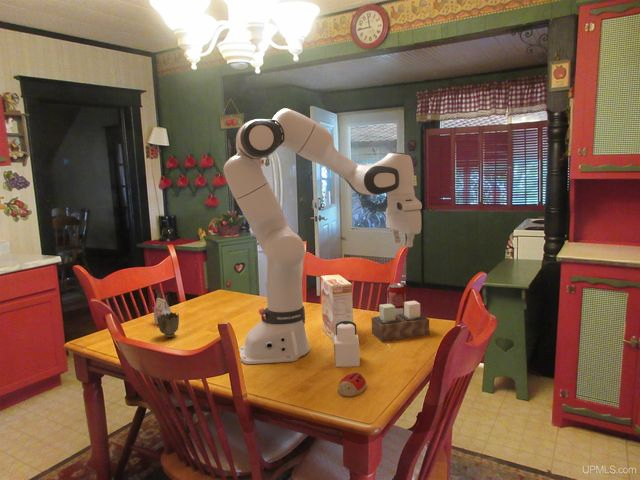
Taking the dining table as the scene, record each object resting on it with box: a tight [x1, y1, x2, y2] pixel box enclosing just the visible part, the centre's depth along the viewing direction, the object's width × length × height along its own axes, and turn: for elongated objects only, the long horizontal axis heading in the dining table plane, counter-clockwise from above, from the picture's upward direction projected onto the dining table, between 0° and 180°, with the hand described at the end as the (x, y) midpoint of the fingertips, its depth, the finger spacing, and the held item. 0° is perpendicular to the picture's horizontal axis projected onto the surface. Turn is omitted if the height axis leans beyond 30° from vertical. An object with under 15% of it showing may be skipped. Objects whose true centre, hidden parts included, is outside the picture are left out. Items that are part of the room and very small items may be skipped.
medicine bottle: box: [333, 321, 361, 368], centre depth 141 cm, size 7×7×12 cm
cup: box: [157, 311, 180, 339], centre depth 169 cm, size 8×7×8 cm
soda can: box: [386, 282, 407, 315], centre depth 182 cm, size 7×7×12 cm
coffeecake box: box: [320, 274, 354, 343], centre depth 163 cm, size 15×7×20 cm, turn 14°
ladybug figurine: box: [337, 372, 367, 398], centre depth 124 cm, size 7×10×4 cm
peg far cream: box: [404, 300, 421, 318], centre depth 163 cm, size 4×4×6 cm
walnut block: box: [371, 313, 430, 343], centre depth 162 cm, size 17×9×6 cm, turn 105°
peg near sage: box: [378, 303, 395, 321], centre depth 160 cm, size 4×4×6 cm
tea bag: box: [153, 297, 172, 325], centre depth 183 cm, size 4×7×10 cm, turn 45°
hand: (403, 244), depth 158 cm, fingers open, 8 cm apart
